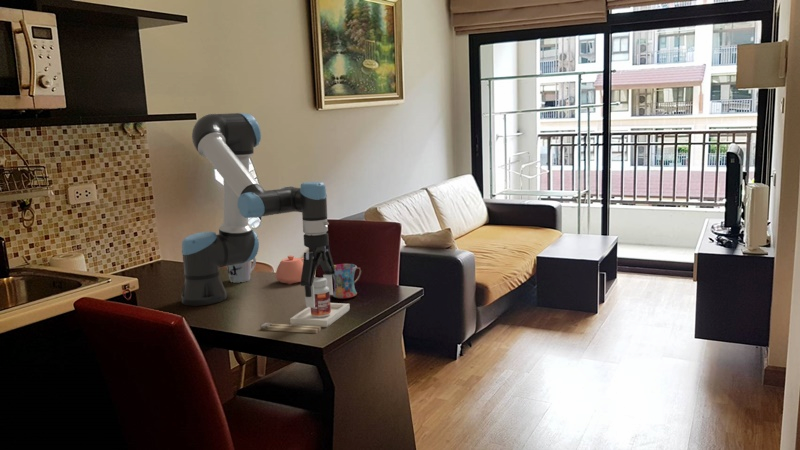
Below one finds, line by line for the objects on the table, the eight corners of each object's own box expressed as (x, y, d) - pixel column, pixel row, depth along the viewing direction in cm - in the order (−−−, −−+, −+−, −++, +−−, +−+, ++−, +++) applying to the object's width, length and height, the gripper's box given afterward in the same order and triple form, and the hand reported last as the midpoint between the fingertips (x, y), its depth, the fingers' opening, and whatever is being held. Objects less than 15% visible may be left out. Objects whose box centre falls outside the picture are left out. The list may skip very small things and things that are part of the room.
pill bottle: (320, 319, 197) (317, 282, 195) (307, 316, 201) (304, 280, 199) (335, 313, 201) (332, 278, 200) (321, 311, 205) (318, 276, 204)
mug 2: (341, 301, 218) (339, 271, 216) (326, 296, 225) (324, 267, 223) (369, 294, 225) (368, 264, 224) (354, 290, 232) (352, 261, 231)
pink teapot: (270, 282, 250) (268, 256, 248) (301, 275, 259) (299, 250, 257) (286, 287, 241) (284, 260, 239) (318, 280, 249) (316, 254, 248)
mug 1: (220, 282, 252) (218, 257, 251) (247, 274, 265) (245, 250, 264) (241, 285, 247) (238, 259, 246) (266, 276, 260) (264, 251, 259)
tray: (290, 325, 194) (290, 318, 194) (315, 308, 211) (315, 302, 211) (327, 327, 191) (327, 320, 191) (349, 309, 208) (349, 303, 208)
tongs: (260, 329, 191) (260, 325, 191) (265, 326, 194) (265, 322, 194) (316, 333, 186) (316, 329, 186) (321, 329, 189) (320, 325, 189)
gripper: (309, 240, 184) (313, 312, 188) (342, 226, 208) (346, 290, 211) (285, 240, 186) (290, 311, 190) (321, 226, 210) (324, 289, 213)
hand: (319, 300), depth 200 cm, fingers open, 13 cm apart
